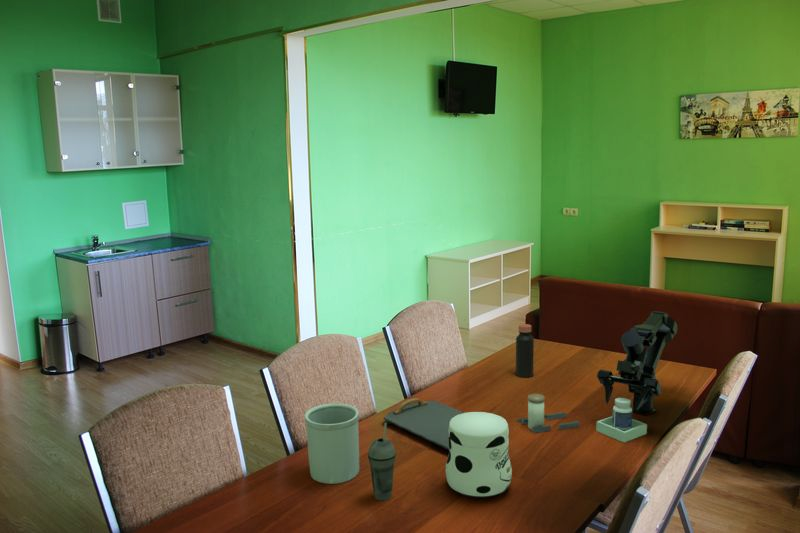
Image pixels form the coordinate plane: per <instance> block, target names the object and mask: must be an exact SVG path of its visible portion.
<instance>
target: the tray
mask: <svg viewBox="0 0 800 533" xmlns="http://www.w3.org/2000/svg"><path fill="white" fill-rule="evenodd" d="M612 418H613V415H611V416H609V417H606V418H602V419H600V420H597V421H596V426H595V427H596V429H595V431H596V432H598V433H599V434H603V435H605V436H608V437H610V438H611V439H615V440H617V441H620V442H622V443H627V442H630V441H632V440H634V439H637V438H639V437H642V436H644V435H647V433H648V431H647V430H648V424H647V423H644V422H642V421H639V420H637V419H635V418H632V428H631V429H629V430H627V431H622V430H620V429H617V428H615V427H612Z"/></svg>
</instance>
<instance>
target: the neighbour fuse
mask: <svg viewBox="0 0 800 533" xmlns="http://www.w3.org/2000/svg"><path fill="white" fill-rule="evenodd" d="M545 399H546V398H545V395H544V394H541V393H531V394H528V395H527V409H528V410H527V417H528V424H527V427H528V428H529V430H532V427H538V426H544V425H545V418H544V415H545Z"/></svg>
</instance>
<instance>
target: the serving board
mask: <svg viewBox="0 0 800 533" xmlns="http://www.w3.org/2000/svg"><path fill="white" fill-rule="evenodd" d="M463 413H465V412H464V411H461V410H459V409H457V408H454V407H452V406H449V405H446V404H445V403H442V402H439V401H436V400H427V401H426V400H422V399H420V398H418V397H417V398H410V399H407V400H405V401H403V402H401V403H400V404H399V405H398V407H397V408H395V409H393V410H392V411H390V412H388V413H387V414H385V415H384V417H383V420H384V421H385V423H387V424H386V425H392V424H393V425H395V426H397V427H398V428H400V429H403V430H405V431H407V432H409V433H410V434H413V435H415V436H418V437H419V438H422V439H423V440H426V441H427V442H430V443H432V444H435V445H436V446H437V445H438V446H439V447H441V448H443V449H445V450H448V451H449V423H450V421H451V419H452V418H453V417H455V416H456V415H459V414H463Z"/></svg>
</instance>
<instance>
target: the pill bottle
mask: <svg viewBox="0 0 800 533" xmlns="http://www.w3.org/2000/svg"><path fill="white" fill-rule="evenodd" d="M614 404H615V405H613V408H612V416H613V418H612V427H615V428H617V429H620V430H622V431H627V430H629V429H631V428H632V419H633V411H632V408H631V407H632V406H631V404H632V401H631V399H629V398H626V397H617V398H615V399H614Z"/></svg>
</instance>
